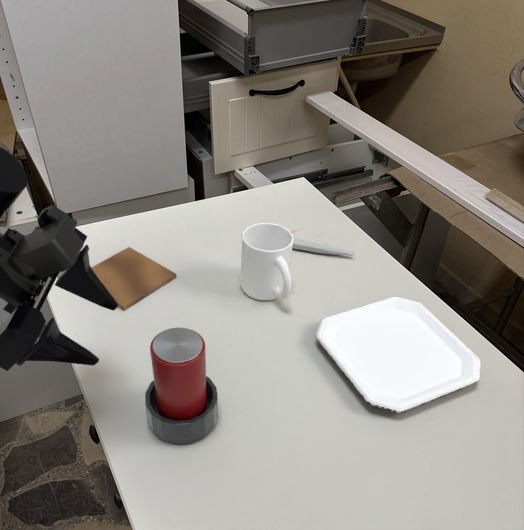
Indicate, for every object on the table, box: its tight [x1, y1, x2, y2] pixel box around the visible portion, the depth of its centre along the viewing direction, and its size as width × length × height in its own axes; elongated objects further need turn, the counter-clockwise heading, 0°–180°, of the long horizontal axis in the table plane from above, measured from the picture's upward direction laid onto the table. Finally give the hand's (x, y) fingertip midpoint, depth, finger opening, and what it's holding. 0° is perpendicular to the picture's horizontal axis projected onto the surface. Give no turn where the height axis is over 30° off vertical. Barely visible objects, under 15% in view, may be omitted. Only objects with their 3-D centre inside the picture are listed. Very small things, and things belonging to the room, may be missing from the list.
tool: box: [292, 238, 356, 257], centre depth 100 cm, size 17×2×2 cm, turn 77°
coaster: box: [91, 246, 177, 311], centre depth 91 cm, size 12×12×1 cm
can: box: [149, 327, 207, 421], centre depth 66 cm, size 6×6×13 cm
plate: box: [315, 296, 482, 414], centre depth 81 cm, size 21×21×2 cm
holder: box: [144, 375, 219, 446], centre depth 69 cm, size 9×9×4 cm
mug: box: [240, 222, 294, 301], centre depth 87 cm, size 12×8×10 cm
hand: (107, 333), depth 61 cm, fingers open, 9 cm apart
